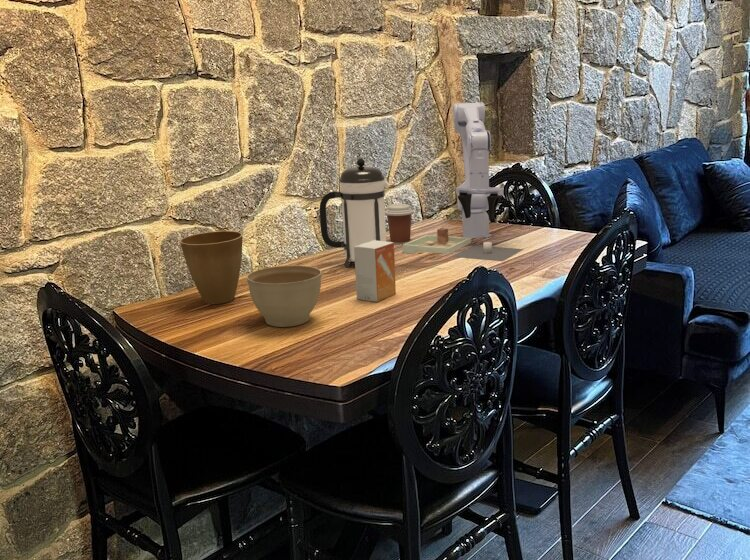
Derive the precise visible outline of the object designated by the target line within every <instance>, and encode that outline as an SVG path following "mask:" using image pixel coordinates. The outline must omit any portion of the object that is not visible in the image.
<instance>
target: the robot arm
mask: <svg viewBox="0 0 750 560" xmlns="http://www.w3.org/2000/svg"><path fill="white" fill-rule="evenodd" d="M452 116H453V117H452V118H453V128H454V132H455V133H458V134H460V135H459V136H460V139H461V142H462V154H463V157H462V158H463V167H464V170H463V171H464V182H462V183H461V184H460V185H459V186H457V187H455V194H456V195H457V196H456V198H457V200H456V201H457V209H458V210H459V212H462V213H461V216H462V218H461V219H462V221H461V222H462V223H461V224H462V225H461V226H462V237H463V238H471V239H480V238H491V237H492V234H490V220H494V219H495V214H496V210H497V207H498V205H499V202H500V200H501V198H502V196H503V195H504V187H493V186H492V187H491V186H490V158H489V157H490V156H489V155H490V154H489V152H490V149H491V146H492V144H491V143H492V138H491V132H490V130H486V126H485V118H486V105H485V103H484V102H483V101H480V102H463V103H461V102H460V103H456V102H455V103H454V104H453V106H452ZM487 210H488V213H487Z"/></svg>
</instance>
